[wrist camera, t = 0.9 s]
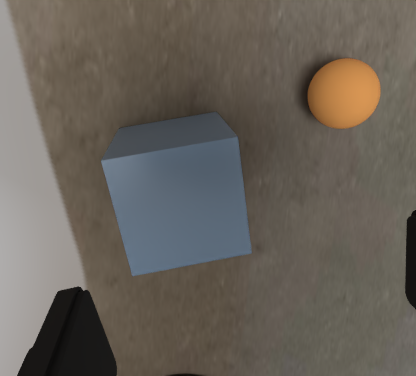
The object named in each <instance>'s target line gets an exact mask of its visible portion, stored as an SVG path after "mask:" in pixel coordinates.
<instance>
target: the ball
mask: <svg viewBox="0 0 416 376" xmlns="http://www.w3.org/2000/svg"><path fill="white" fill-rule="evenodd" d="M379 98H380V83H379V79H378V77H377V75H376V73H375V72H374V70H373V69H372V68H371V67H370V66H369V65H367V64H366V63H364V62H362V61H360V60H357V59H351V58H344V59H338V60H334V61H332V62H330V63H328V64H326V65H325V66H323V67H322V68H321V69H320V70H319V71H318V72H317V73H316V74H315V76H314V77H313V79H312V81H311V83H310V85H309V89H308V104H309V108H310V110H311V112H312V114H313V115H314V116H315V118H316V119H317V120H318V121H319V122H321V123H322V124H324V125H326V126H328V127H332V128H337V129H345V128H350V127H354V126H356V125H358V124H360V123H362V122H363V121H365V120H366V119H367V118H368V117H369V116H370V115H371V114H372V113H373V112H374V110H375V108H376V107H377V104H378V102H379Z"/></svg>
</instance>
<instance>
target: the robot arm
mask: <svg viewBox="0 0 416 376" xmlns="http://www.w3.org/2000/svg"><path fill="white" fill-rule="evenodd" d="M405 293H406V297H407V299H408V301H409V303H410V304H411V305H412V306H413V307H414V308H415V309H416V210H415V211H413V212H412V214H411V216H410V217H408V219H407V236H406V282H405ZM116 375H117V366H116V361H115V358H114V355H113V353H112V350H111V347H110V345H109V342H108V339H107V337H106V334H105V331H104V329H103V326H102V324H101V321H100V318H99V316H98V313H97V310H96V308H95V305H94V302H93V300H92V297H91V295H90V292H89V291H88V290H85V291H83V290H82V288H81V287H74V288H70V289H66V290H61V291H58V292H57V294H56V296H55V298H54V301H53V303H52V305H51V307H50V309H49V312H48V314H47V316H46V319H45V321H44V323H43V325H42V328H41V330H40V332H39V334H38V337H37V339H36V341H35V343H34V346H33V347H32V348H31V349H30V350H29V351H28V353H27V355H26V357H25V359H24V361H23V364H22V366H21V368H20V370H19V373H18V375H17V376H116Z"/></svg>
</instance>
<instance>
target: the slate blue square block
mask: <svg viewBox="0 0 416 376" xmlns="http://www.w3.org/2000/svg"><path fill="white" fill-rule="evenodd" d="M101 163H102V166H103V170H104V174H105V177H106V181H107V185H108V188H109V192H110V196H111V199H112V203H113V207H114V210H115V214H116V218H117V221H118V225H119V229H120V233H121V236H122V240H123V244H124V247H125V251H126V255H127V258H128V262H129V266H130V269H131V273H132V276H136V275H141V274H147V273H152V272H157V271H162V270H167V269H173V268H178V267H183V266H188V265H193V264H199V263H204V262H209V261H214V260H219V259H225V258H230V257H235V256H240V255H245V254H251V253H252V251H251V243H250V235H249V226H248V218H247V209H246V201H245V192H244V184H243V176H242V167H241V159H240V150H239V142H238V136H237V135H236V134H235V133H234V132H233V130H232V129H231V128H230V127H229V126H228V125H227V123H226V122H225V121H224V120H223V119H222V118H221V116H220V115H219V114H218V113H217V112H211V113H206V114H200V115H194V116H188V117H182V118H176V119H170V120H164V121H158V122H153V123H147V124H141V125H135V126H129V127H123V128H119V129H118V131H117V133H116V135H115V137H114V138H113V140H112V142H111V144H110V146H109V147H108V149H107V151H106V153H105V154H104V156H103V158H102V160H101Z"/></svg>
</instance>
